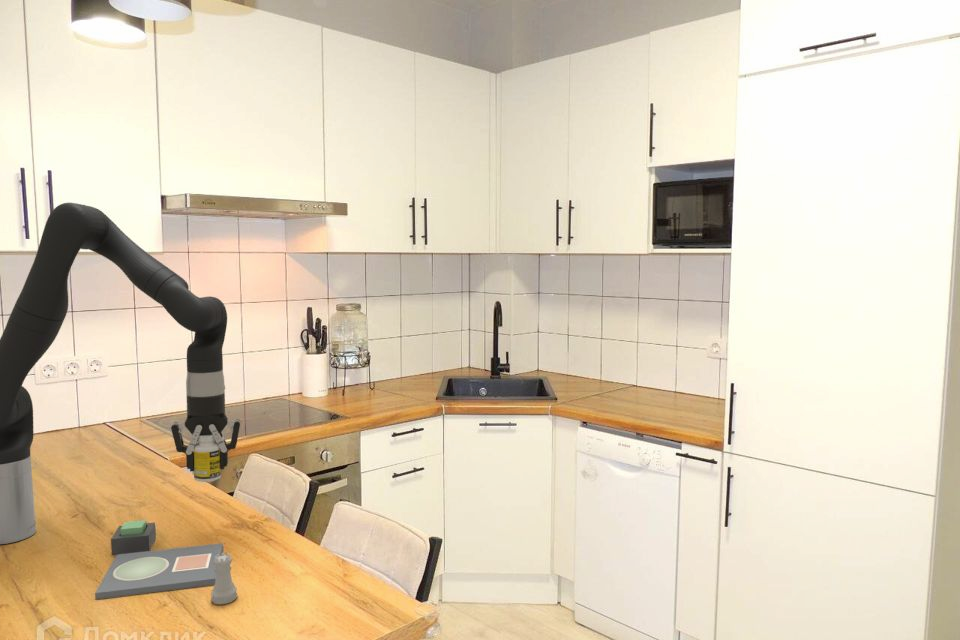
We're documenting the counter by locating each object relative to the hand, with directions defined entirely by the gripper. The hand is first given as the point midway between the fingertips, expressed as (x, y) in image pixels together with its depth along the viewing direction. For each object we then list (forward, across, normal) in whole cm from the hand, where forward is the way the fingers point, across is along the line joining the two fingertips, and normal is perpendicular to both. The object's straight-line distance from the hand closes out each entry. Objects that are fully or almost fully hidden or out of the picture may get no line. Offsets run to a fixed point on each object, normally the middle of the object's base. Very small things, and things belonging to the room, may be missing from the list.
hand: (207, 469), depth 146 cm
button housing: (+15, -15, -1) cm, 21 cm away
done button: (+13, -15, -1) cm, 20 cm away
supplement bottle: (+2, 0, 0) cm, 2 cm away
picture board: (+15, -6, -15) cm, 22 cm away
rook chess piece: (+15, +6, -29) cm, 33 cm away
